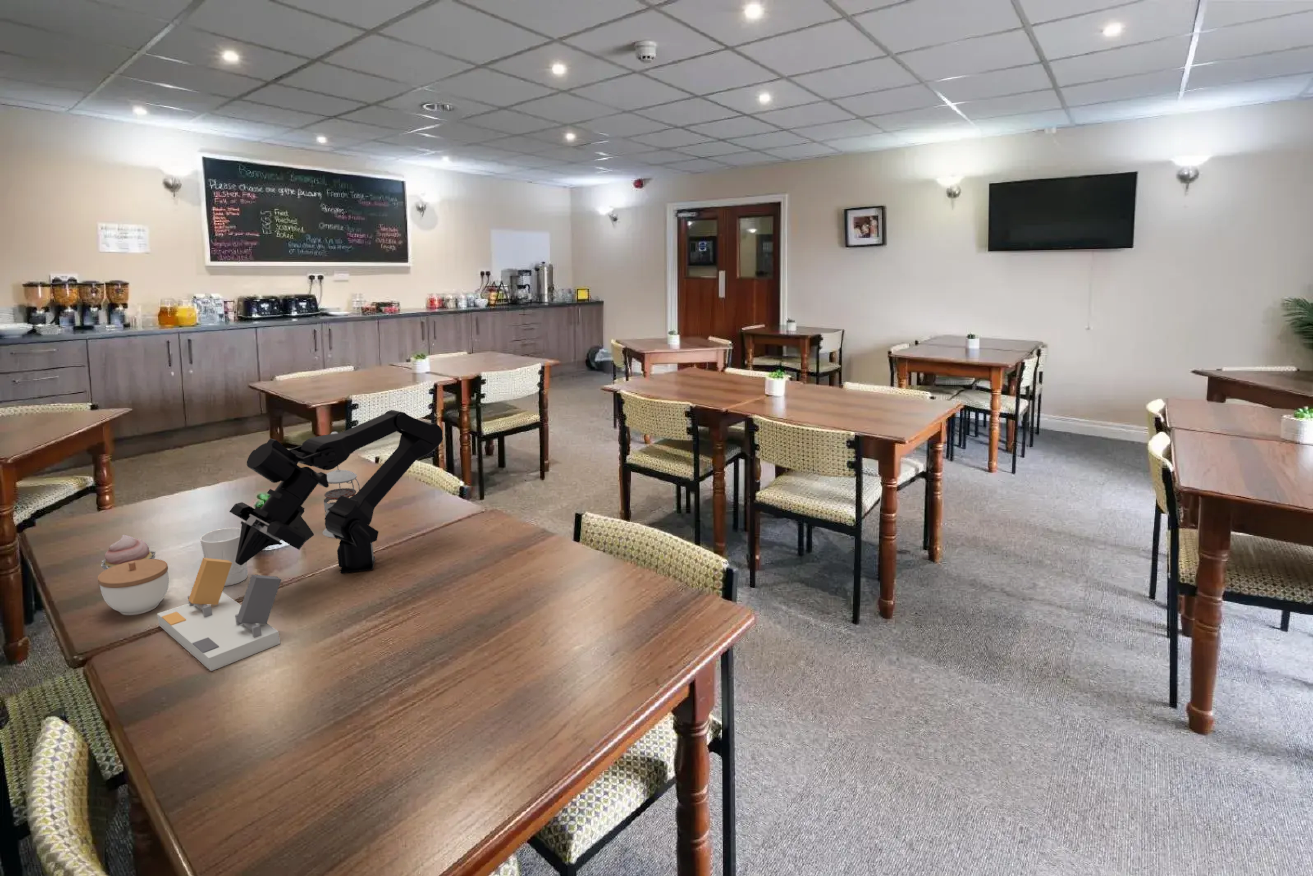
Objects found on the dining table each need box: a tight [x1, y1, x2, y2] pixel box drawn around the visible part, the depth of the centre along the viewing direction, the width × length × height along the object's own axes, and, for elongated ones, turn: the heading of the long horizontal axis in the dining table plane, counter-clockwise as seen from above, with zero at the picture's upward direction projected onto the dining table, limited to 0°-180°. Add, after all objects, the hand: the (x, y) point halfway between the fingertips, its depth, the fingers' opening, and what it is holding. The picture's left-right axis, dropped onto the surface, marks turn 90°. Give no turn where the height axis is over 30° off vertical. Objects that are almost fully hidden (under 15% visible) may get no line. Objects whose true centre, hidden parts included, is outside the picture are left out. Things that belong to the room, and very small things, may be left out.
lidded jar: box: [97, 558, 170, 616], centre depth 134 cm, size 11×11×9 cm
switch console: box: [156, 591, 281, 672], centre depth 126 cm, size 11×23×4 cm, turn 52°
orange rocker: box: [187, 557, 232, 611], centre depth 130 cm, size 4×5×9 cm
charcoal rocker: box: [237, 574, 282, 631], centre depth 124 cm, size 4×5×9 cm
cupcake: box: [100, 534, 157, 571], centre depth 145 cm, size 9×9×10 cm
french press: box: [322, 431, 361, 539], centre depth 172 cm, size 10×12×25 cm
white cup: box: [199, 527, 249, 587], centre depth 146 cm, size 8×8×10 cm
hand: (238, 564), depth 134 cm, fingers closed
